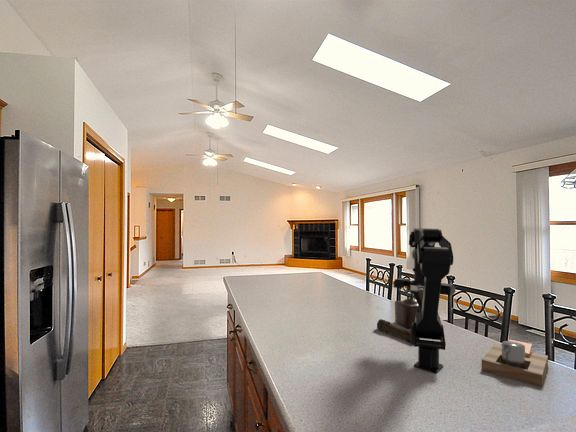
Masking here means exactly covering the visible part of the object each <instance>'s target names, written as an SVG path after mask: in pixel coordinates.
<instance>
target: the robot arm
mask: <svg viewBox="0 0 576 432" xmlns="http://www.w3.org/2000/svg"><path fill="white" fill-rule="evenodd" d="M442 232H443V231H442V229H439V228H425V227H424V228H421V227H420V228H419V227H418V228H416V227H415V228H413V231H411V232H410V234H409V238H408V239H409V240H408V245H409V247H410V248H412V249H413V250H412V251H411V258H412V259H413V261H414V262H413V268H412V272H413V275H414V276H413V278H414V279H413V280H412V281H413V282H411V281H410V280H411V279H410V278H406V277H405V278H404V277H399V278H395V279H394V281H393V288H397V289H398V288H399V289H403V288H404V287H406V288H407V287H411V290H410V292H412V293H413V298H415V299H416V300H417V303H418V305H419V307H420V310H417V311H416V316H415V322H413V324H412V326H411V329H410V331H411V341H410V343H411V346H412V345H413V347H414V348H415V347H416V348H417V354H418V355H417V361H416V362H415V363H414V364H413V367H415V368H418V369H421V370H424V371H428V372H430V373H433V374H437V373H439V372H440V370H441V369H443V368H444V364H441V363H440V350H443V351H446V346H447V345H446V338H445V337H446V336H445V330H444V325H443V324H442V321H441V317H440V315H439V305H440V295H445V296H452V295H454V294H455V293H456V286H455V285H454V284H453V283H444V282H443V281H442V280H443V279H444V278H445V277H447V276H448V275H449V274H450V270H451V266H453V264H454V253H453V248H452V244H451V242H450V241H449V240H448V239H446V237H444V236H443V233H442ZM436 243H437V244H438V245H439V246H436ZM410 292H409V293H410ZM416 337H417V338H420V339H416Z"/></svg>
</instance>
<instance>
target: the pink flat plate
mask: <svg viewBox="0 0 576 432" xmlns="http://www.w3.org/2000/svg"><path fill="white" fill-rule="evenodd" d="M508 341H512V342H517V343H520V344H523V345H524V346H525V356H528V357H530V353H531V352H532V349H533V343H529V342H524V341H518V340H514V339H509V340H508Z"/></svg>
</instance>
